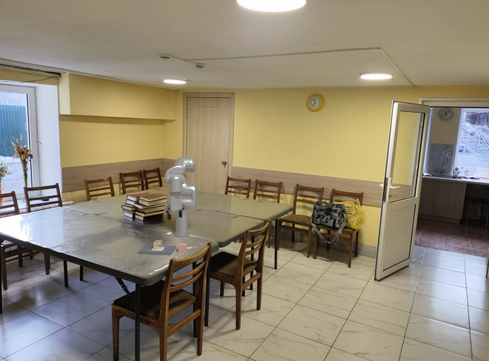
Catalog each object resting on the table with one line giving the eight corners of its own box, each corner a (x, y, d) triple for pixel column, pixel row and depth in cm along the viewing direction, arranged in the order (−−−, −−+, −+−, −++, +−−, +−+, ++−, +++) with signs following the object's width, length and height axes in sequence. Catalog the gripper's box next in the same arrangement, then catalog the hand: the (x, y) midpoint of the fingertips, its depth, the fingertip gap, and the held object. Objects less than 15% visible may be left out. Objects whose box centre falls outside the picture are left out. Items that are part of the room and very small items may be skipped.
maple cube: (155, 247, 239) (155, 240, 238) (162, 247, 239) (162, 240, 238) (153, 249, 234) (153, 242, 233) (160, 249, 234) (160, 242, 233)
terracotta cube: (179, 249, 240) (179, 243, 240) (186, 250, 240) (186, 243, 239) (178, 252, 235) (178, 245, 235) (185, 252, 235) (185, 245, 234)
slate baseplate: (146, 246, 244) (146, 244, 244) (176, 247, 244) (176, 245, 244) (138, 253, 230) (138, 251, 229) (170, 255, 229) (170, 252, 229)
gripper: (181, 191, 237) (181, 215, 239) (161, 194, 224) (161, 219, 226) (188, 193, 232) (188, 217, 234) (168, 196, 219) (168, 221, 221)
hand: (174, 218), depth 230 cm, fingers open, 9 cm apart
